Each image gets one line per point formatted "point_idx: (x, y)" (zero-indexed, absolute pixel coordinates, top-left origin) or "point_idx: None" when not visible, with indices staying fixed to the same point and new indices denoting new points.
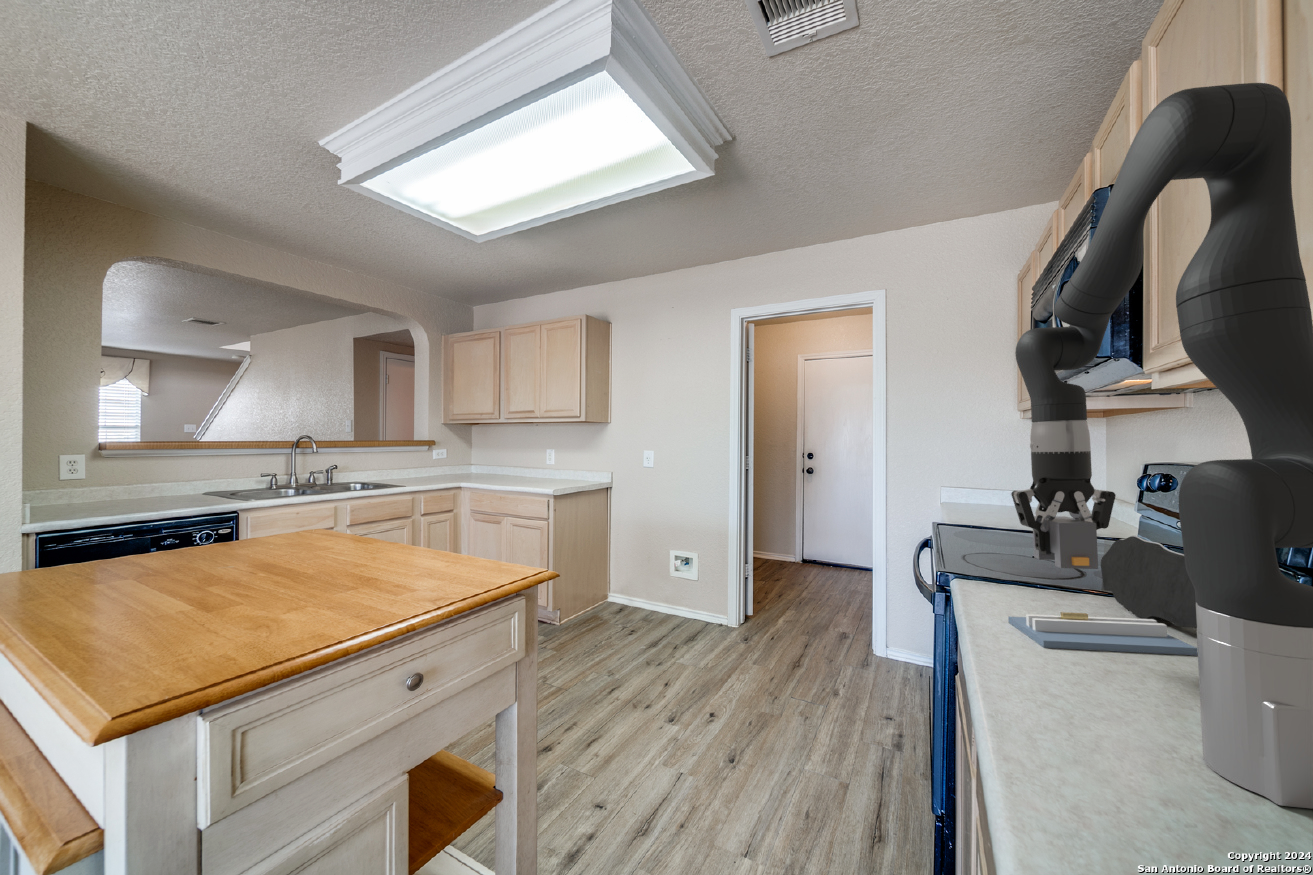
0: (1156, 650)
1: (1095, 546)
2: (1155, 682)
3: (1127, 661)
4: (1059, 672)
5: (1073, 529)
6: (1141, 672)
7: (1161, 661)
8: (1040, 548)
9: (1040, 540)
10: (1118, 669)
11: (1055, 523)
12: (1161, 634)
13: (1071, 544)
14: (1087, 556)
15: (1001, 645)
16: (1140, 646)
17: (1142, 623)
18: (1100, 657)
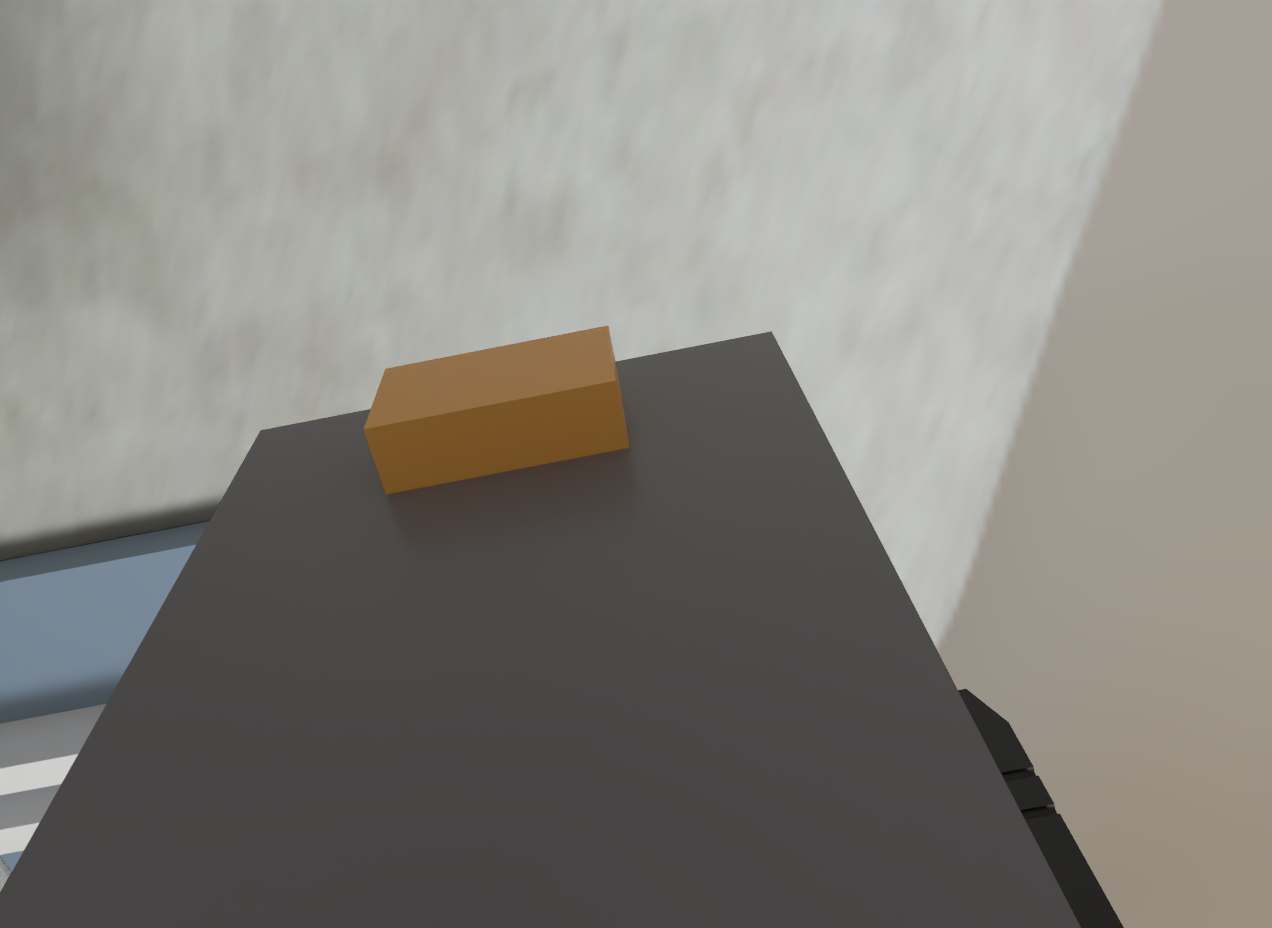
0: (52, 560)
1: (165, 655)
2: (173, 69)
3: (242, 372)
4: (691, 37)
5: (595, 900)
6: (211, 215)
7: (62, 435)
8: (994, 718)
9: (1052, 832)
10: (327, 220)
11: None
12: None
13: (638, 582)
14: (365, 508)
15: (879, 393)
16: (124, 553)
17: (40, 774)
18: (373, 385)
